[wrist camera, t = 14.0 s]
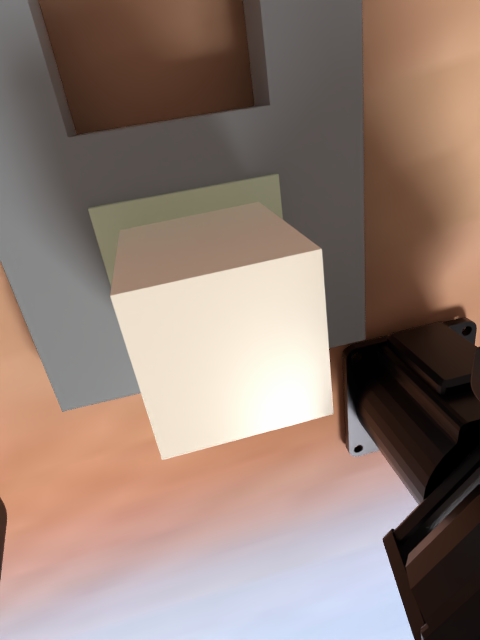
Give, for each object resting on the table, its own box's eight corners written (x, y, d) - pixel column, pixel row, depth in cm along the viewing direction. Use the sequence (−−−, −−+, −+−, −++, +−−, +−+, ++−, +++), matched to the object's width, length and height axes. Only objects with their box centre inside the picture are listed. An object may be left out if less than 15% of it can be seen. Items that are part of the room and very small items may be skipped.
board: (344, 319, 19) (367, 342, 17) (69, 382, 18) (61, 415, 16) (308, -766, 9) (359, -1023, 7) (-399, -835, 7) (-603, -1195, 5)
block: (274, 323, 16) (333, 413, 11) (154, 352, 16) (162, 460, 11) (258, 201, 14) (321, 248, 9) (119, 230, 14) (110, 295, 9)
